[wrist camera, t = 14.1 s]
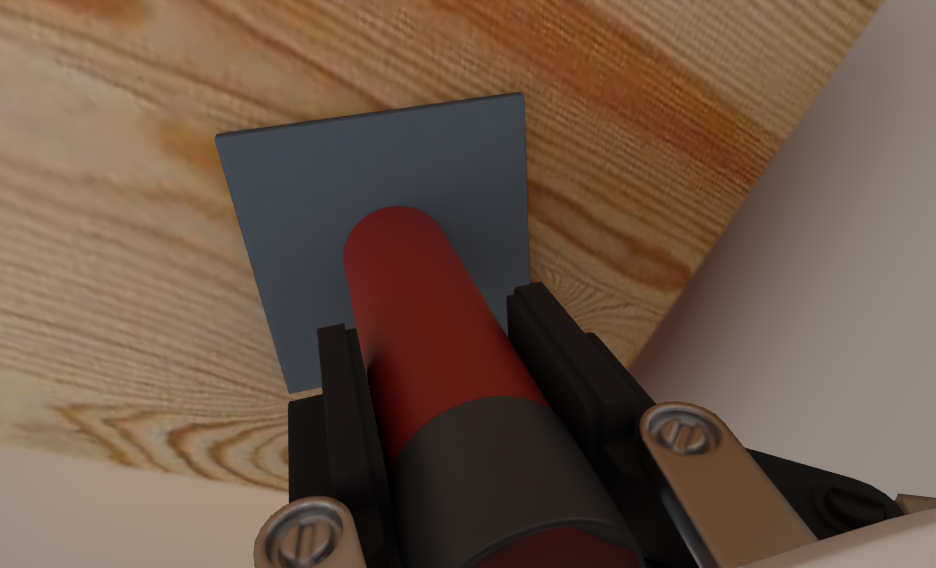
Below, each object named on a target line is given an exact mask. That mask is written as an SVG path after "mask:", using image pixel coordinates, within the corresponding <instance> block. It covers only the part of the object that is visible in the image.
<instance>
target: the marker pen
mask: <svg viewBox="0 0 936 568" xmlns="http://www.w3.org/2000/svg"><path fill="white" fill-rule="evenodd" d="M343 262H344V268H345V273H346V278H347V283H348V288H349V293H350V298H351V303H352V307H353V312H354V317H355V322H356V327H357V332H358V337H359V342H360V347H361V352H362V356H363V361H364V366H365V371H366V376H367V381H368V386H369V391H370V396H371V401H372V405H373V410H374V415H375V420H376V425H377V430H378V435H379V440H380V445H381V450H382V455H383V459H384V464H385V469H386V474H387V479H388V485H389V490H390V495H391V500H392V505H393V510H394V515H395V520H394V528H395V536H396V541H397V546H398V551H399V556H400V561H401V566H402V568H645V561H644V555H643V550H642V548H641V546H640V544H639V542H638V540H637V538H636V537H635V535H634V534H633V532H632V530H631V529H630V527H629V526H628V524H627V522H626V521H625V519H624V518H623V516H622V514H621V513H620V511H619V510H618V508H617V506H616V505H615V503H614V502H613V500H612V498H611V497H610V495H609V494H608V492H607V490H606V489H605V487H604V486H603V484H602V482H601V481H600V479H599V478H598V476H597V474H596V473H595V471H594V470H593V468H592V466H591V465H590V463H589V462H588V460H587V458H586V457H585V455H584V454H583V452H582V450H581V449H580V447H579V446H578V444H577V442H576V441H575V439H574V437H573V436H572V434H571V433H570V431H569V429H568V428H567V426H566V425H565V423H564V422H563V421H562V419H561V418H560V417H559V416H558V415H557V414H556V413H555V412H554V411H553V410H552V408H551V406H550V405H549V403H548V401H547V400H546V398H545V397H544V395H543V393H542V392H541V390H540V388H539V387H538V385H537V384H536V382H535V380H534V379H533V377H532V375H531V374H530V372H529V371H528V369H527V367H526V366H525V364H524V362H523V361H522V359H521V358H520V356H519V354H518V353H517V351H516V350H515V348H514V346H513V345H512V343H511V341H510V340H509V338H508V337H507V335H506V333H505V332H504V330H503V328H502V327H501V325H500V324H499V322H498V320H497V319H496V317H495V315H494V314H493V312H492V311H491V309H490V307H489V306H488V304H487V302H486V301H485V299H484V298H483V296H482V294H481V293H480V291H479V290H478V288H477V286H476V285H475V283H474V281H473V280H472V278H471V277H470V275H469V273H468V272H467V270H466V268H465V267H464V265H463V264H462V262H461V260H460V259H459V257H458V255H457V254H456V252H455V251H454V249H453V247H452V246H451V244H450V242H449V241H448V239H447V238H446V236H445V234H444V233H443V231H442V229H441V228H440V227H439V225H438V224H437V223H436V222H435V221H434V220H433V219H432V218H431V217H430V216H429V215H427V214H425V213H424V212H422V211H419V210H417V209H414V208H410V207H402V206H395V207H388V208H383V209H380V210H377V211H375V212H373V213H371V214H369V215H368V216H366V217H365V218H363V219H362V220H361V221H360V222H359V223H358V224H357V225H356V226H355V227H354V228H353V230H352V231H351V233H350V234H349V236H348V238H347V240H346V243H345V247H344V253H343Z"/></svg>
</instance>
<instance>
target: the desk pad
mask: <svg viewBox="0 0 936 568" xmlns="http://www.w3.org/2000/svg"><path fill="white" fill-rule="evenodd" d="M215 143H216V146H217V149H218V153H219V156H220V160H221V163H222V167H223V170H224V173H225V177H226V180H227V184H228V187H229V190H230V194H231V197H232V201H233V204H234V208H235V211H236V214H237V218H238V221H239V225H240V228H241V232H242V235H243V238H244V242H245V245H246V249H247V252H248V256H249V259H250V262H251V266H252V269H253V273H254V276H255V279H256V283H257V286H258V290H259V293H260V297H261V300H262V303H263V307H264V310H265V314H266V317H267V321H268V324H269V327H270V331H271V334H272V338H273V341H274V345H275V348H276V351H277V355H278V358H279V362H280V365H281V369H282V372H283V375H284V379H285V382H286V386H287V389H288V392H289V394H292V393H296V392H301V391H305V390H309V389H314V388H318V387H322V380H321V369H320V358H319V347H318V336H317V329H318V328H322V327H327V326H332V325H337V324H341V323H344V324H345V328H346V330H348V329H352V328H356V329H357V327H356V322H355V317H354V312H353V307H352V303H351V298H350V293H349V288H348V283H347V278H346V273H345V268H344V262H343V253H344V247H345V243H346V240H347V238H348V236H349V234H350V233H351V231H352V230H353V228H354V227H355V226H356V225H357V224H358V223H359V222H360V221H361V220H362V219H363V218H365V217H366V216H368V215H369V214H371V213H373V212H375V211H377V210H380V209H383V208H388V207H395V206H402V207H410V208H414V209H417V210H419V211H422V212H424V213H425V214H427V215H429V216H430V217H431V218H432V219H433V220H434V221H435V222H436V223H437V224H438V225H439V227H440V228H441V229H442V231H443V233H444V234H445V236H446V238H447V239H448V241H449V242H450V244H451V246H452V247H453V249H454V251H455V252H456V254H457V255H458V257H459V259H460V260H461V262H462V264H463V265H464V267H465V268H466V270H467V272H468V273H469V275H470V277H471V278H472V280H473V281H474V283H475V285H476V286H477V288H478V290H479V291H480V293H481V294H482V296H483V298H484V299H485V301H486V302H487V304H488V306H489V307H490V309H491V311H492V312H493V314H494V315H495V317H496V319H497V320H498V322H499V324H500V325H501V327H502V328H503V330H504V332H505V333H506V335H507V337H508V325H507V307H506V298H507V296H508V295H513V294H514V289H515V287H518V286H523V285H527V284H530V267H529V235H528V203H527V171H526V138H525V106H524V95H523V94H521V93H519V92H517V93H510V94H503V95H496V96H488V97H481V98H474V99H467V100H460V101H452V102H445V103H438V104H431V105H424V106H417V107H409V108H402V109H395V110H388V111H381V112H373V113H366V114H359V115H352V116H345V117H337V118H330V119H323V120H316V121H309V122H302V123H294V124H287V125H280V126H273V127H266V128H258V129H251V130H244V131H237V132H230V133H223V134H217V135H216V136H215ZM357 334H358V332H357ZM358 338H359V337H358ZM359 343H360V342H359ZM360 348H361V347H360ZM361 353H362V352H361ZM362 358H363V356H362ZM363 363H364V361H363ZM364 368H365V366H364ZM365 372H366V371H365Z"/></svg>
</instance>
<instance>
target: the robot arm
mask: <svg viewBox="0 0 936 568" xmlns="http://www.w3.org/2000/svg"><path fill="white" fill-rule="evenodd" d="M506 307H507V325H508V338H509V340H510V341H511V343H512V345H513V346H514V348H515V350H516V351H517V353H518V354H519V356H520V358H521V359H522V361H523V362H524V364H525V366H526V367H527V369H528V371H529V372H530V374H531V375H532V377H533V379H534V380H535V382H536V384H537V385H538V387H539V388H540V390H541V392H542V393H543V395H544V397H545V398H546V400H547V401H548V403H549V405H550V406H551V408H552V410H553V411H554V412H555V413H556V414H557V415H558V416H559V417H560V418H561V419H562V421H563V422H564V423H565V425H566V426H567V428H568V429H569V431H570V433H571V434H572V436H573V437H574V439H575V441H576V442H577V444H578V446H579V447H580V449H581V450H582V452H583V454H584V455H585V457H586V458H587V460H588V462H589V463H590V465H591V466H592V468H593V470H594V471H595V473H596V474H597V476H598V478H599V479H600V481H601V482H602V484H603V486H604V487H605V489H606V490H607V492H608V494H609V495H610V497H611V498H612V500H613V502H614V503H615V505H616V506H617V508H618V510H619V511H620V513H621V514H622V516H623V518H624V519H625V521H626V522H627V524H628V526H629V527H630V529H631V530H632V532H633V534H634V535H635V537H636V538H637V540H638V542H639V544H640V546H641V548H642V550H643V555H644V561H645V568H936V498H932V497H922V496H914V495H906V494H898V495H897V498H896V500H895V501H893V500H892V499H891V498H890V497H888V496H887V495H886V494H885V493H883V492H881V491H880V490H878V489H876V488H875V487H873V486H871V485H869V484H867V483H864V482H861V481H858V480H856V479H853V478H850V477H846V476H843V475H839V474H836V473H832V472H829V471H825V470H822V469H818V468H815V467H811V466H807V465H804V464H801V463H797V462H794V461H790V460H786V459H783V458H779V457H776V456H773V455H769V454H766V453H762V452H759V451H755V450H751V449H748V448H744V446H743V445H742V444H741V443H740V442H739V440H738V439H737V438H736V437H735V435H734V434H733V433H732V432H731V430H730V429H729V428H728V427H727V425H726V424H725V423H724V422H723V421H722V420H721V419H720V418H719V417H718V416H717V415H716V414H714V413H712V412H711V411H709V410H707V409H705V408H703V407H700V406H697V405H694V404H691V403H684V402H664V403H661V404H657V405H656V403H655V402H654V401H653V400H652V399H651V398H650V397H649V395H648V394H647V393H646V392H645V391H644V390H643V388H641V386H640V385H639V384H638V383H637V382H636V380H635V379H634V378H633V377H632V376H631V374H630V373H629V372H628V371H627V370H626V369H625V367H624V366H623V365H622V364H621V363H620V362H619V361H618V359H617V358H616V357H615V356H614V355H613V354H612V352H611V351H610V350H609V349H608V348H607V347H606V346H605V344H604V343H603V342H602V341H601V340H600V339H599V337H598V336H596V335H595V334H594V333H591V332H588V333H584V332H583V331H582V330H581V328H580V327H579V326H578V325H577V324H576V322H575V321H574V320H573V319H572V318H571V316H570V315H569V314H568V313H567V312H566V310H565V309H564V308H563V307H562V306H561V304H560V303H559V302H558V301H557V300H556V298H555V297H554V296H553V295H552V294H551V293H550V291H549V290H548V289H547V288H546V287H545V285H544V284H543V283H542V282H537V283H532V284H527V285H523V286H518V287H515V289H514V294H513V295H508V296H507V298H506ZM317 336H318V347H319V358H320V369H321V380H322V391H323V394H321V395H316V396H312V397H308V398H303V399H299V400H295V401H290V402H289V404H288V452H289V504H287V505H285V506H283V507H282V508H281V509H279V510H278V511H277V512H275V513H274V514H273V515H271V516H270V518H269V519H268V520H267V521H266V522H265V524H264V525H263V526H262V527H261V529H260V531H259V534H258V536H257V538H256V540H255V546H254V566H255V568H402V566H401V561H400V556H399V551H398V546H397V541H396V536H395V528H394V520H395V515H394V510H393V505H392V500H391V495H390V490H389V485H388V480H387V475H386V470H385V465H384V460H383V455H382V450H381V445H380V441H379V436H378V431H377V426H376V421H375V416H374V411H373V407H372V402H371V397H370V392H369V387H368V382H367V377H366V372H365V368H364V363H363V358H362V353H361V348H360V343H359V338H358V334H357V329H356V328H352V329H348V330H346V328H345V324H344V323H341V324H337V325H332V326H327V327H322V328H318V329H317Z"/></svg>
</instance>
